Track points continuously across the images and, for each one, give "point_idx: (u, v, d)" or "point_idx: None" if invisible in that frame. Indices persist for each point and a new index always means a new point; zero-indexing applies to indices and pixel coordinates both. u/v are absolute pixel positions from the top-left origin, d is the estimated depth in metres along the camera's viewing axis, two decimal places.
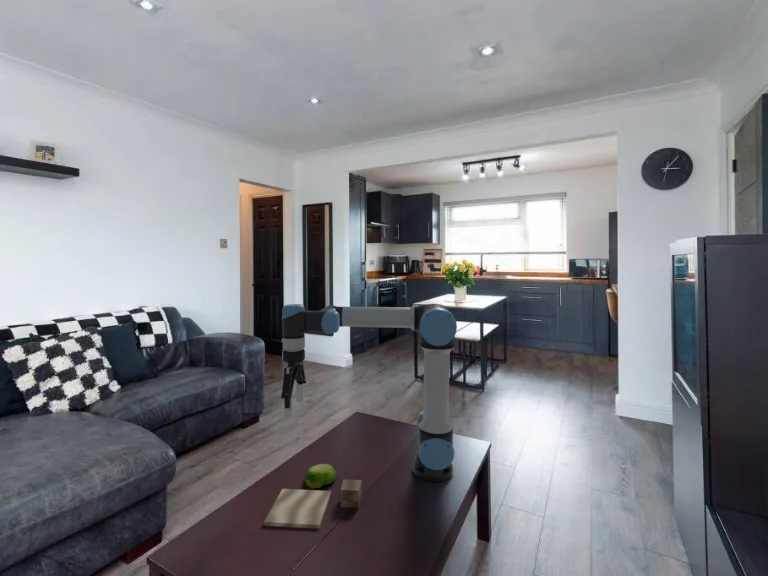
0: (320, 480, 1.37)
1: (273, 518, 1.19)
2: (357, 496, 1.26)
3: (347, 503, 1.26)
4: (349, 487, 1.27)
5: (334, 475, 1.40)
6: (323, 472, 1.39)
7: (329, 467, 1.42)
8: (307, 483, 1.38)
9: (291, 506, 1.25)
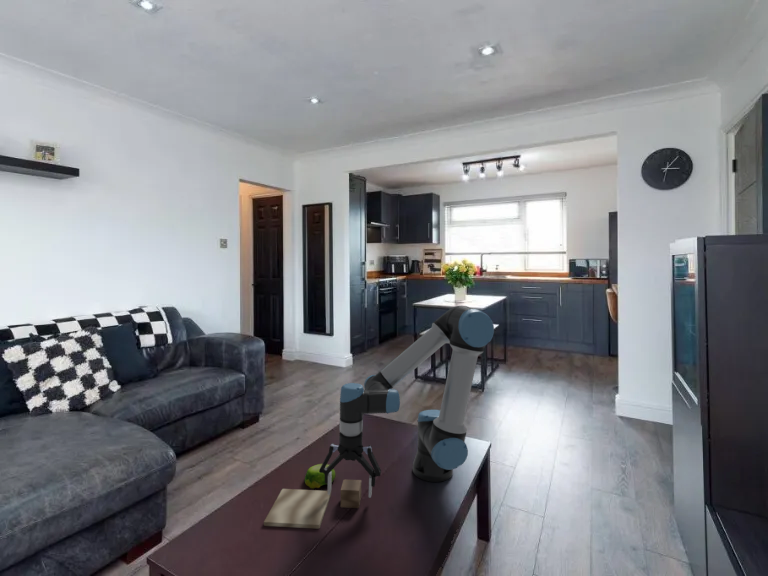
0: (320, 480, 1.37)
1: (273, 518, 1.19)
2: (357, 496, 1.26)
3: (347, 503, 1.26)
4: (349, 487, 1.27)
5: (334, 475, 1.40)
6: None
7: None
8: (307, 483, 1.38)
9: (291, 506, 1.25)
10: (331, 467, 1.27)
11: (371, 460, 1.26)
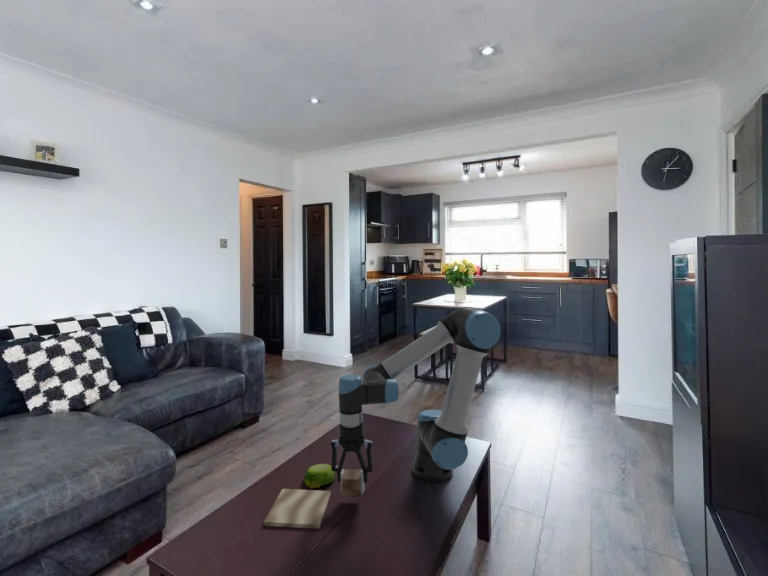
0: (319, 480, 1.37)
1: (273, 518, 1.19)
2: (358, 485, 1.26)
3: (348, 492, 1.26)
4: (350, 476, 1.27)
5: (333, 475, 1.40)
6: (322, 472, 1.39)
7: (328, 467, 1.42)
8: (306, 483, 1.38)
9: (291, 506, 1.25)
10: (340, 464, 1.27)
11: (368, 454, 1.26)
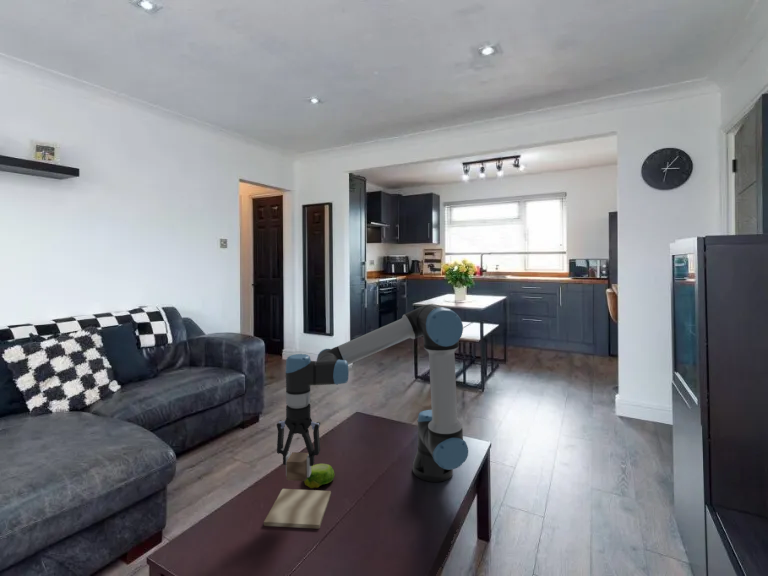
0: (319, 480, 1.37)
1: (273, 518, 1.19)
2: (303, 468, 1.21)
3: (293, 475, 1.21)
4: (296, 459, 1.23)
5: (333, 475, 1.41)
6: (322, 472, 1.39)
7: (328, 467, 1.42)
8: (306, 483, 1.38)
9: (291, 506, 1.25)
10: (286, 446, 1.23)
11: (315, 437, 1.22)
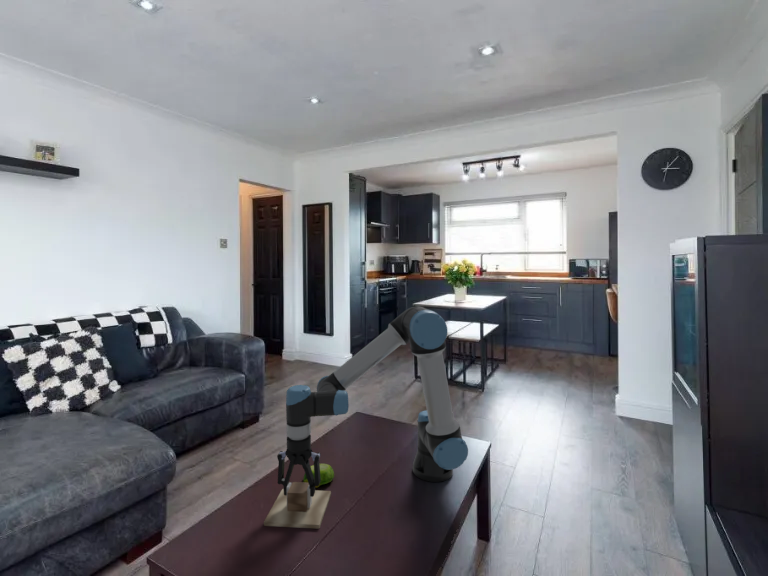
0: None
1: (273, 518, 1.19)
2: (304, 499, 1.22)
3: (294, 506, 1.22)
4: (297, 490, 1.23)
5: (332, 475, 1.41)
6: (321, 472, 1.39)
7: (327, 467, 1.42)
8: None
9: None
10: (287, 477, 1.23)
11: (315, 468, 1.23)
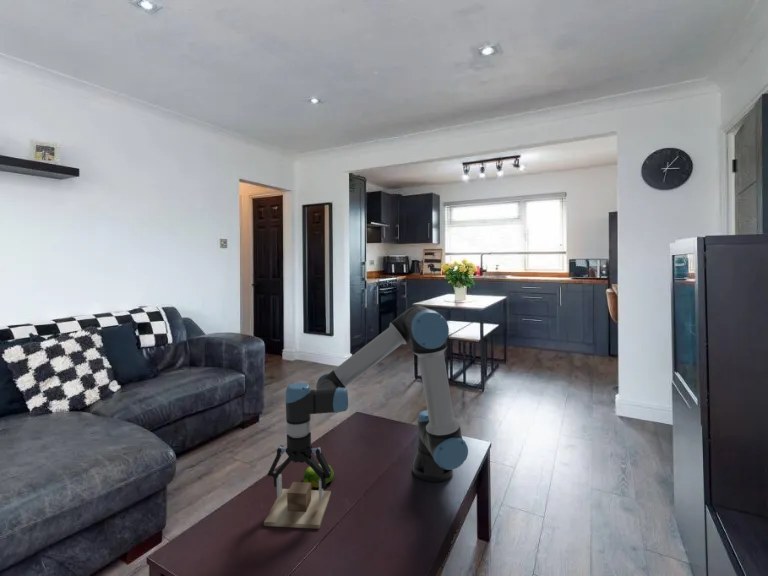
0: (318, 480, 1.37)
1: (273, 518, 1.19)
2: (304, 499, 1.22)
3: (294, 506, 1.22)
4: (297, 490, 1.23)
5: (332, 475, 1.41)
6: None
7: None
8: None
9: None
10: (279, 470, 1.24)
11: (320, 461, 1.22)
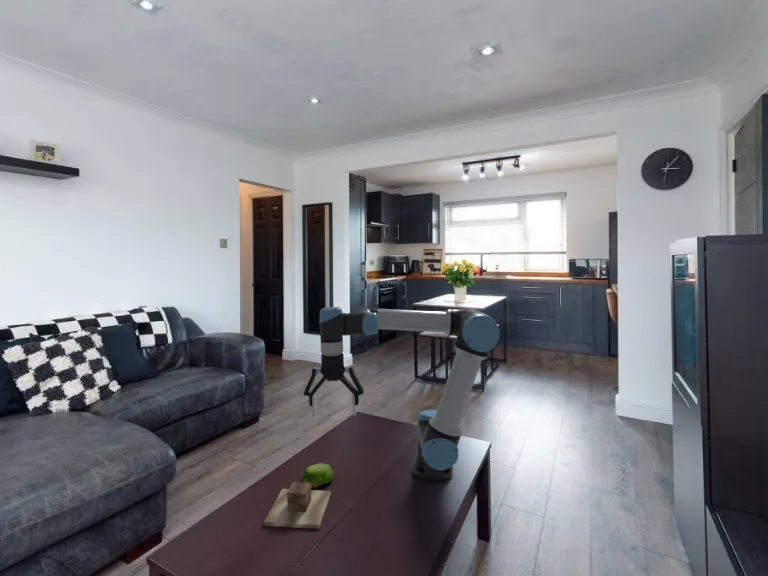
0: (318, 479, 1.37)
1: (273, 518, 1.19)
2: (304, 499, 1.22)
3: (294, 506, 1.22)
4: (297, 490, 1.23)
5: (332, 474, 1.41)
6: (321, 471, 1.39)
7: (327, 467, 1.43)
8: None
9: None
10: (315, 389, 1.31)
11: (353, 379, 1.30)
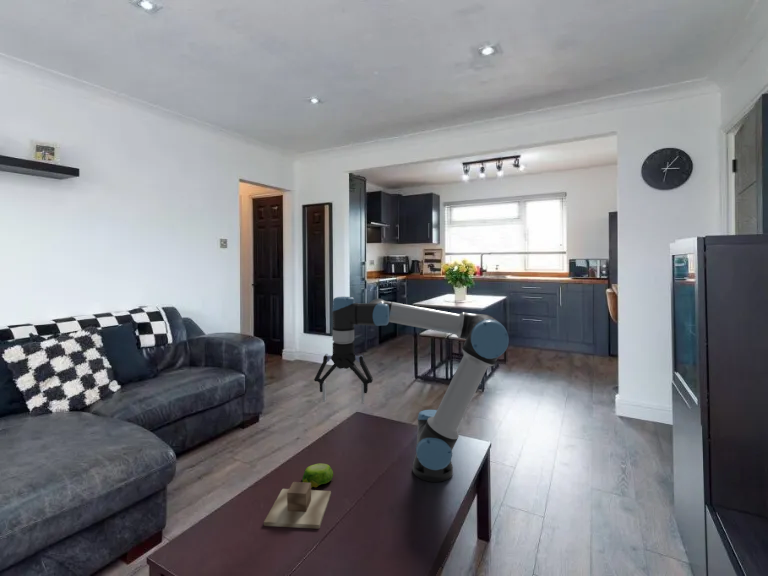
0: (317, 479, 1.37)
1: (273, 518, 1.19)
2: (304, 499, 1.22)
3: (294, 506, 1.22)
4: (297, 490, 1.23)
5: (331, 475, 1.41)
6: (320, 471, 1.39)
7: (326, 467, 1.43)
8: None
9: None
10: (325, 375, 1.35)
11: (363, 367, 1.33)
